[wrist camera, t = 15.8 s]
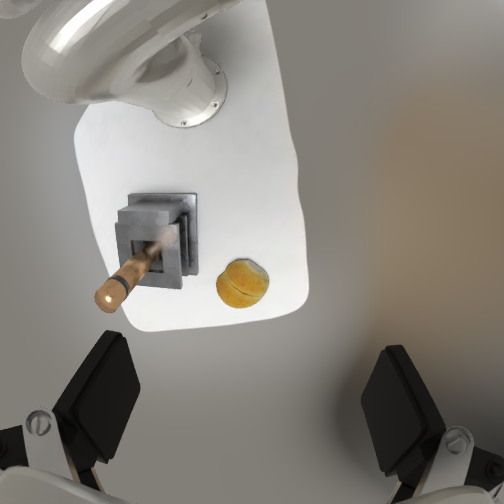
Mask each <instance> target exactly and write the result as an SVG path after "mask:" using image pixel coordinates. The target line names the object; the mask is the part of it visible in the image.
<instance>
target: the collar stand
mask: <svg viewBox="0 0 504 504" xmlns="http://www.w3.org/2000/svg"><path fill="white" fill-rule="evenodd" d="M115 231H116V240H117V248H118V256H119V263H120V268H121V267H122V266H123V265H124V264H125V263H126V262H127V261H128V260H129V259H130V258H131V257H132V256H133V255H135V254H136V253H137V252H138V251H139V250H140V249H141V248H142V247H143V246H144V245H145V244H147V243H148V242H149V241H161V245H162V255H161V256H160V257H159V259H158V260H157V261H156V262H155V263H154V264H153V266H152V267H151V268H150V269H149V270H148V271H147V273H146V274H145V275H144V276H143V277H142V279H141V280H140V281H139V282H138V283H137V285H139V286H149V287H160V288H171V289H181V288H182V286H183V285H182V276H188V275H198V251H197V194H129V195H128V206H127V207H125V208H123V209H121V210H119V211H118V222H116V223H115Z"/></svg>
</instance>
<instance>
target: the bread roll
mask: <svg viewBox="0 0 504 504" xmlns="http://www.w3.org/2000/svg"><path fill="white" fill-rule="evenodd" d="M268 285H269V279H268V276H267V274H266V272H265V271H264V270H263V269H262V268H261V267H260V266H258V265H257V264H255V263H254V262H252V261H250V260H240V261H235V262H233V263H231V264H230V265H229V266H228V267H227V268H226V270H225V272H224V273H223V274H221V275H220V276H219V277H218V279H217V282H216V287H217V292H218V295H219V296H220V298H221V299H222V300H223V302H224V303H226V304H227V305H229V306H231V307H233V308H246V307H250V306H252V305H254V304H256V303H257V302H258V301H259V300H260V299H261V298H262V297H263V296H264V294H265V293H266V291H267V288H268Z"/></svg>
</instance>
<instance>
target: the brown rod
mask: <svg viewBox="0 0 504 504" xmlns="http://www.w3.org/2000/svg"><path fill="white" fill-rule="evenodd" d="M161 255H162V245H161V241H149V242H148V243H147V244H145V245H144V246H143V247H142V248H141V249H140V250H139V251H138V252H137V253H136V254H135V255H133V256H132V257H131V258H130V259H129V260H128V261H127V262H126V263H125V264H124V265H123V266H122V267H121V268H120V269H119V270H118V271H117V272H116V273H115V274H113V275H112V276H111V277H110V278H109V279H108V280H107V281H106V282H105V283H104V284H103V285H102V286H101V288H99V289H98V290H97V291H96V293H95V296H94V298H95V302H96V304H97V306H98V307H99V308H100V309H101V310H102V311H104V312H106V313H113V312H115V311H116V309H117V308H118V307H119V306H120V305H121V303H122V302H123V301H124V300H125V299H126V298H127V296H128V295H129V293H130V292H131V291H132V290H133V288H134V287H135V286H136V285H137V283H138V282H139V281H140V280H141V279H142V277H143V276H144V275H145V274H146V273H147V271H148V270H149V269H150V268H151V267H152V266H153V264H154V263H155V262H156V261H157V260H158V259H159V257H160V256H161Z"/></svg>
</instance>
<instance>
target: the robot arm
mask: <svg viewBox="0 0 504 504" xmlns="http://www.w3.org/2000/svg"><path fill="white" fill-rule="evenodd" d="M41 1H42V0H0V18H3V19H4V18H6V19H7V18H8V19H10V18H15V17H18V16H21V15H23V14H24V13H26V12H28V11H29V10H31V9H32V8H33V7H35V6H36V5H37V4H39V3H40V2H41ZM241 1H242V0H56V1H54V2H53V3H52V4H51V6H50V7H49V8H48V9H47V10H46V11H45V13H43V15H42V16H41V17H40V18H39V20H38V21H37V23H36V24H35V26H34V27H33V29H32V30H31V32H30V34H29V35H28V38H27V40H26V42H25V45H24V48H23V52H22V69H23V73H24V75H25V78H26V80H27V81H28V83H29V84H30V85H31V87H32V88H33V89H35V90H36V91H37V92H38V93H39V94H41V95H43V96H44V97H47V98H49V99H51V100H54V101H57V102H61V103H67V104H94V103H102V102H109V101H121V102H126V103H130V104H133V105H137V106H140V107H144V108H147V109H150V110H152V112H153V113H154V115H155V116H156V117H157V118H158V119H159V120H160V121H161V122H163V123H165V124H167V125H169V126H172V127H176V128H190V127H195V126H198V125H201V124H203V123H205V122H206V121H208V120H209V119H211V118H212V117H213V116H214V115H215V114H216V113H217V112H218V111H219V109H220V108H221V106H222V104H223V102H224V100H225V97H226V91H227V83H226V79H225V76H224V74H223V72H222V70H221V69H220V67H219V66H218V65H217V64H216V63H215V62H214V61H212V60H210V59H209V58H206V57H203V56H201V54H202V51H200V50H199V48H200V44H201V36H202V35H201V34H199V33H192V34H190V35H189V40H188V39H187V38H186V36H185V35H184V33H186V32H187V31H189V30H190V29H192V28H194V27H195V26H197V25H199V24H200V23H202V22H204V21H206V20H207V19H209V18H211V17H213V16H215V15H216V14H218V13H220V12H222V11H224V10H226V9H228V8H230V7H232V6H234V5H235V4H237V3H239V2H241ZM216 73H219V74H218V75H216ZM216 104H217V107H214V106H215V105H216ZM184 122H186V125H184ZM139 393H140V383H139V380H138V377H137V374H136V370H135V368H134V364H133V361H132V357H131V354H130V351H129V347H128V344H127V340H126V338H125V337H123V336H122V334H121V333H119V332H115V331H109V330H106V331H105V332H104V333H103V334H102V336H101V337H100V338H99V340H98V341H97V343H96V344H95V346H94V347H93V348H92V350H91V351H90V353H89V354H88V355H87V357H86V358H85V360H84V361H83V363H82V364H81V366H80V367H79V369H78V370H77V372H76V373H75V375H74V376H73V378H72V379H71V381H70V382H69V384H68V385H67V387H66V389H65V390H64V392H63V393H62V395H61V396H60V398H59V399H58V401H57V403H56V404H55V406H54V408H53V409H52V411H51V410H49V409H48V408H45V407H35V408H32V409H31V410H29V411H28V412H27V413H26V414H25V416H24V418H23V424H22V425H19V426H15V427H12V428H8V429H4V430H0V504H135V503H132V502H128V501H125V500H122V499H119V498H116V497H113V496H110V495H108V494H106V493H105V491H104V489H103V487H102V485H101V482H100V480H99V478H98V476H97V473H96V471H95V469H94V465H95V462H96V460H97V461H100V462H102V463H105V464H108V461H109V459H112V458H113V457H114V455H115V452H116V450H117V448H118V445H119V442H120V440H121V437H122V434H123V432H124V429H125V427H126V424H127V422H128V420H129V417H130V414H131V412H132V410H133V407H134V405H135V402H136V400H137V398H138V395H139ZM361 405H362V408H363V411H364V414H365V418H366V421H367V424H368V428H369V431H370V434H371V438H372V441H373V445H374V449H375V452H376V456H377V459H378V463H379V467H380V470H381V471H382V472H385V476H386V477H389V476H393V475H396V474H397V475H398V478H399V482H398V483H397V485H396V487H395V489H394V491H393V493H392V494H391V496H390V498H389V500H388V501H387V503H386V504H504V459H503V458H502V457H501V456H499V455H496V454H493V453H490V452H488V451H485V450H482V449H480V448H477V447H475V446H474V441H473V437H472V435H471V434H470V432H469V431H468V430H467V429H465V428H463V427H459V426H455V427H451V428H449V429H446V427H445V423H444V421H443V419H442V417H441V415H440V413H439V411H438V409H437V407H436V405H435V403H434V401H433V399H432V397H431V395H430V393H429V391H428V390H427V388H426V386H425V384H424V382H423V380H422V379H421V377H420V375H419V373H418V371H417V370H416V368H415V366H414V364H413V362H412V361H411V359H410V357H409V356H408V354H407V352H406V350H405V349H404V347H403V346H402V345H391V346H387V347H386V348H385V349H384V350H382V351H381V353H380V355H379V358H378V360H377V363H376V365H375V367H374V370H373V372H372V374H371V376H370V379H369V381H368V383H367V385H366V387H365V389H364V391H363V393H362V396H361Z"/></svg>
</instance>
